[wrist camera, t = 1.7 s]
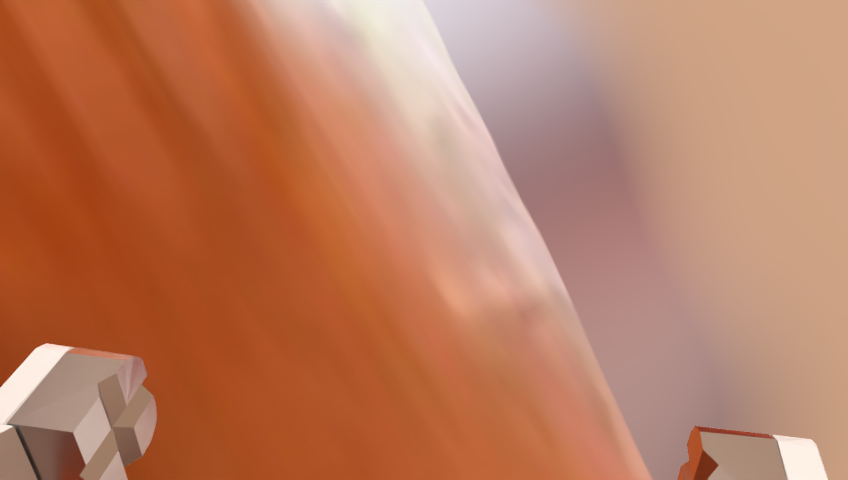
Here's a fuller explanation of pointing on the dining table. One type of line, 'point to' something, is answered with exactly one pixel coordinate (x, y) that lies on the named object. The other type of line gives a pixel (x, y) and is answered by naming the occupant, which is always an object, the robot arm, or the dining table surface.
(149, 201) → the dining table surface
